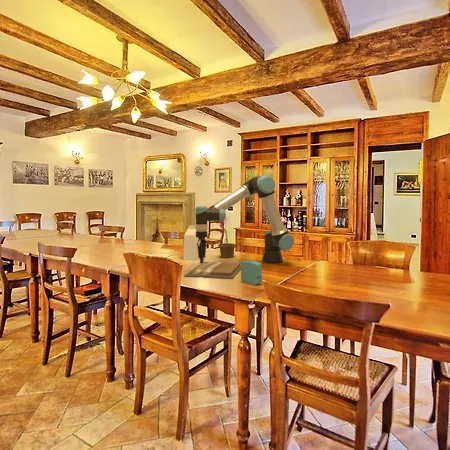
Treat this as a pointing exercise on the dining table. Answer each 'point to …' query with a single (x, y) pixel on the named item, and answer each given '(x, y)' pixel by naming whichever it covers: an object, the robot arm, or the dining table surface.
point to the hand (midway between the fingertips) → (202, 267)
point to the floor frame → (220, 271)
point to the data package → (251, 272)
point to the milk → (191, 244)
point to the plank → (206, 268)
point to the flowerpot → (226, 245)
